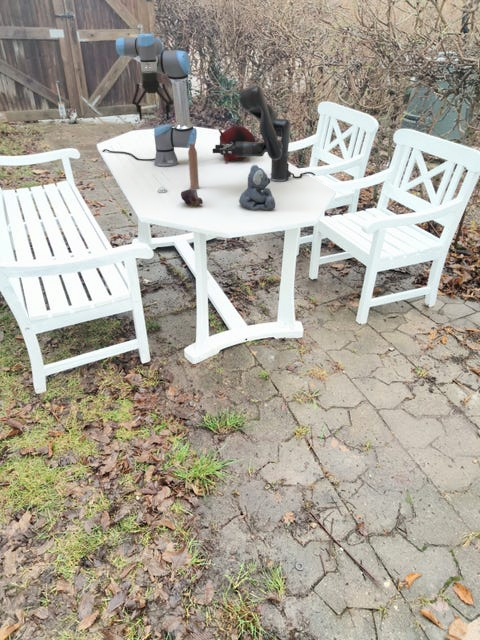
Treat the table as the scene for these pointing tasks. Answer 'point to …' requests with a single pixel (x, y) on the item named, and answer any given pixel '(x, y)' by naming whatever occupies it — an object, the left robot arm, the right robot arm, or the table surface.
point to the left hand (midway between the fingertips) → (154, 119)
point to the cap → (162, 189)
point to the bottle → (193, 166)
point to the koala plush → (257, 191)
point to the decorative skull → (235, 139)
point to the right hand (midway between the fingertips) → (214, 148)
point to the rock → (191, 197)
